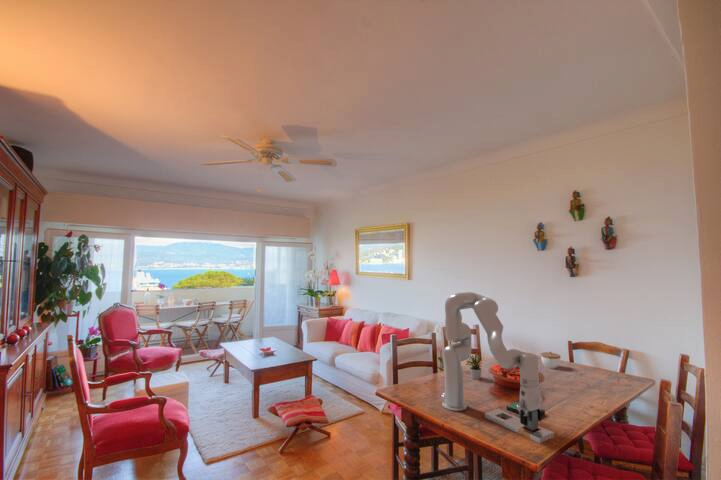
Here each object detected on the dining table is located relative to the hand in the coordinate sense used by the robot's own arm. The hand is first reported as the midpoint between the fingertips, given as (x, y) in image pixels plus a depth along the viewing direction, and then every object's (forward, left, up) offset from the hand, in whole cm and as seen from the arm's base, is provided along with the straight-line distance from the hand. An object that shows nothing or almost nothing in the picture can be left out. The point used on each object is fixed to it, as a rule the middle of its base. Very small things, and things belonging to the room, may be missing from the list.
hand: (530, 421), depth 151 cm
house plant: (-65, +38, -5) cm, 75 cm away
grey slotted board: (-7, 0, -5) cm, 8 cm away
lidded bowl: (-53, +104, -5) cm, 117 cm away
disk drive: (-15, +18, -6) cm, 24 cm away
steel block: (0, 0, -5) cm, 5 cm away
